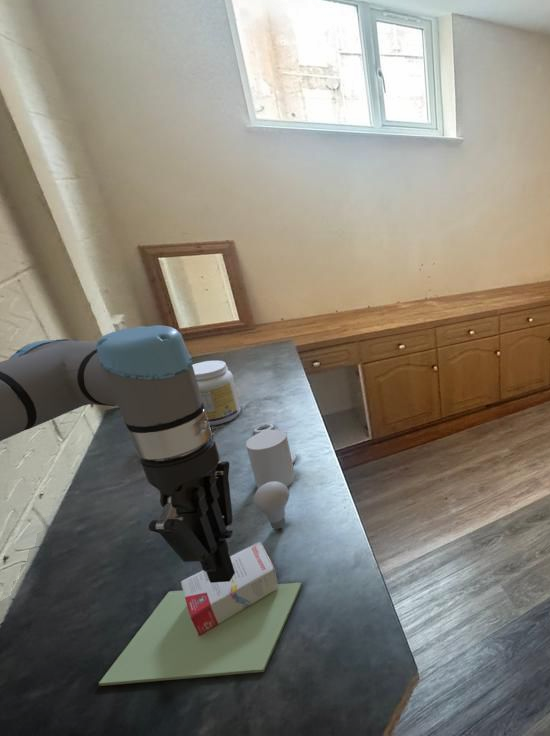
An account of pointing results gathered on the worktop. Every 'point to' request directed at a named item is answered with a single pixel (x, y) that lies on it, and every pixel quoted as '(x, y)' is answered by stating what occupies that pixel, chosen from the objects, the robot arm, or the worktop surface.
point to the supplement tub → (217, 391)
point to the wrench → (257, 430)
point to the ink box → (229, 589)
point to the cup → (270, 457)
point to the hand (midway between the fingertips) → (222, 577)
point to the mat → (203, 641)
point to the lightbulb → (272, 502)
